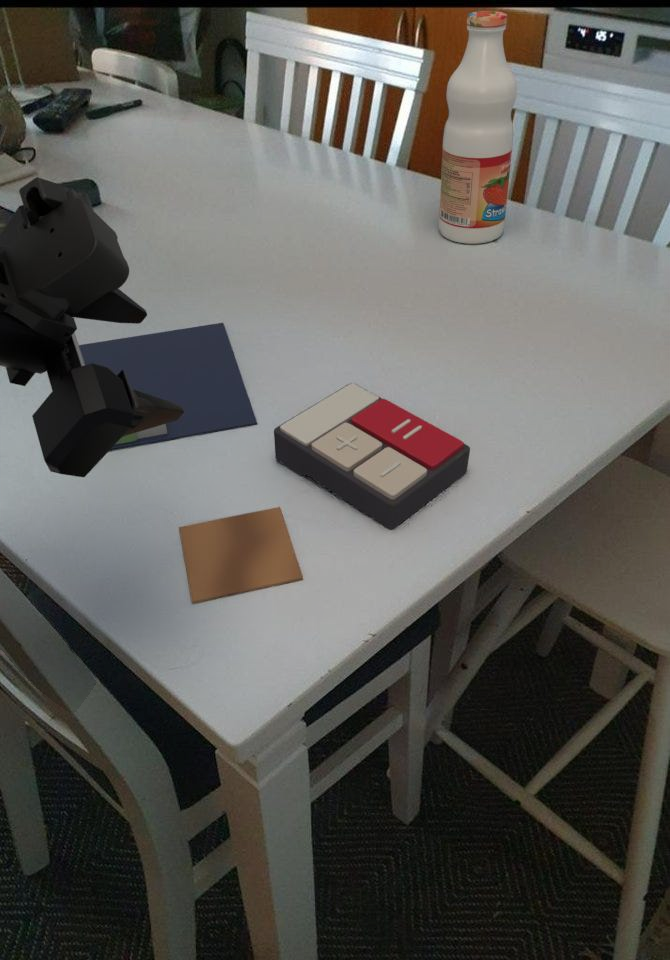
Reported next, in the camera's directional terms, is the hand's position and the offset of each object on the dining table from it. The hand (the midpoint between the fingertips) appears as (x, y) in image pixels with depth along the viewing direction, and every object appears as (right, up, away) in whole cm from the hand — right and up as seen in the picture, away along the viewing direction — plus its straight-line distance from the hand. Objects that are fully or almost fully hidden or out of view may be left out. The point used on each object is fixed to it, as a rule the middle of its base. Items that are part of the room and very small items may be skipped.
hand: (161, 364), depth 57 cm
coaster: (+4, -14, +11) cm, 18 cm away
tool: (-10, -4, +24) cm, 26 cm away
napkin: (-8, +2, +31) cm, 33 cm away
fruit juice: (+32, +28, +61) cm, 74 cm away
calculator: (+16, -7, +19) cm, 26 cm away
